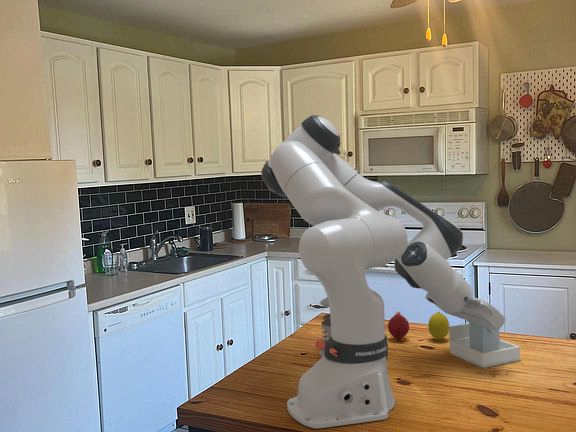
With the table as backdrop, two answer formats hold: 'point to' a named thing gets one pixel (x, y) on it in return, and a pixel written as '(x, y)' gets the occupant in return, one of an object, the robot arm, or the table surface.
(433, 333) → the lemon
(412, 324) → the table surface
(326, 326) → the french press
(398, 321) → the onion
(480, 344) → the carton
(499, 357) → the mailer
